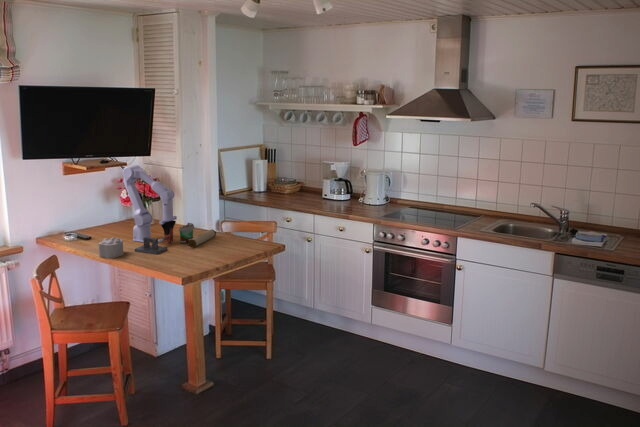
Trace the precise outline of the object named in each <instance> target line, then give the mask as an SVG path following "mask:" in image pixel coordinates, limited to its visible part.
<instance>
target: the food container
mask: <svg viewBox="0 0 640 427" xmlns="http://www.w3.org/2000/svg"><path fill="white" fill-rule="evenodd" d="M194 229H195V224H194V223H191V222H187V224H186V225H183V226H182V227H180V226H179V229H178V231H179V238H180V245H181V244H183V245H184V244H185V245H188V241H189V239H192V238H194Z"/></svg>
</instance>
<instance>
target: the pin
mask: <svg viewBox="0 0 640 427" xmlns="http://www.w3.org/2000/svg"><path fill="white" fill-rule="evenodd" d="M163 242H166V243H173V242H174V228H171V227H169V235H165V233H164V232H163V237H161V238H159V239H158V244H160V243H163Z"/></svg>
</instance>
